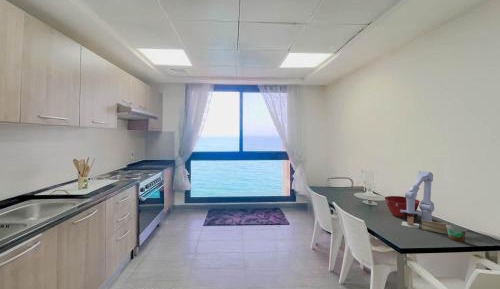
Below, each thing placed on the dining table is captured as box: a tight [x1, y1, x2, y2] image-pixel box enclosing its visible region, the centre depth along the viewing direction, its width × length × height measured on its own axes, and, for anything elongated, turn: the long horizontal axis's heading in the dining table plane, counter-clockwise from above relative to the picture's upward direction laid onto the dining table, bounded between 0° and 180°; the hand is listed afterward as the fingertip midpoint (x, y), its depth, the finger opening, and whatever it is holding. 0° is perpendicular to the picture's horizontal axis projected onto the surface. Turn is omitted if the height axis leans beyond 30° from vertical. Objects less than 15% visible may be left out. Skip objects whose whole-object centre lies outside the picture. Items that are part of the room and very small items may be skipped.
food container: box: [446, 222, 468, 243], centre depth 176 cm, size 12×6×10 cm, turn 21°
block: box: [407, 216, 414, 225], centre depth 207 cm, size 4×4×6 cm
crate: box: [421, 220, 451, 235], centre depth 197 cm, size 13×18×4 cm
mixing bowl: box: [384, 195, 421, 219], centre depth 234 cm, size 28×28×16 cm
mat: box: [400, 221, 420, 229], centre depth 207 cm, size 12×12×1 cm
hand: (410, 222), depth 207 cm, fingers closed on block, 4 cm apart
